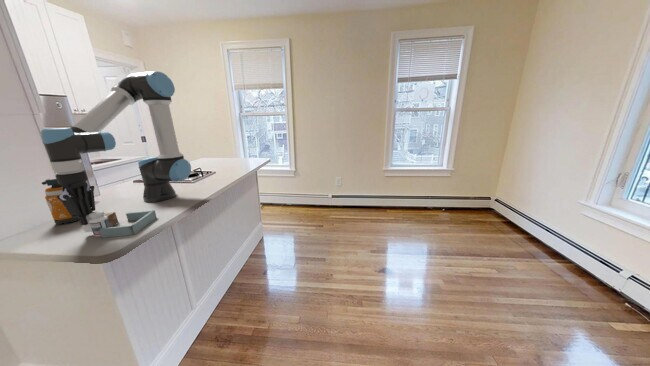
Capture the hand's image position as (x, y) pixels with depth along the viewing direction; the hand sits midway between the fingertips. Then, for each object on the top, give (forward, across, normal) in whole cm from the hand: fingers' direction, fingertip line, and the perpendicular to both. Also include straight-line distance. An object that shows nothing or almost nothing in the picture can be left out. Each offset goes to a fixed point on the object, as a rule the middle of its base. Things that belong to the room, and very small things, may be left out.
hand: (90, 231), depth 89 cm
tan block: (+2, -8, 0) cm, 8 cm away
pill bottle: (+2, 0, +4) cm, 4 cm away
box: (+1, -4, +12) cm, 13 cm away
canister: (+2, -19, -21) cm, 28 cm away
